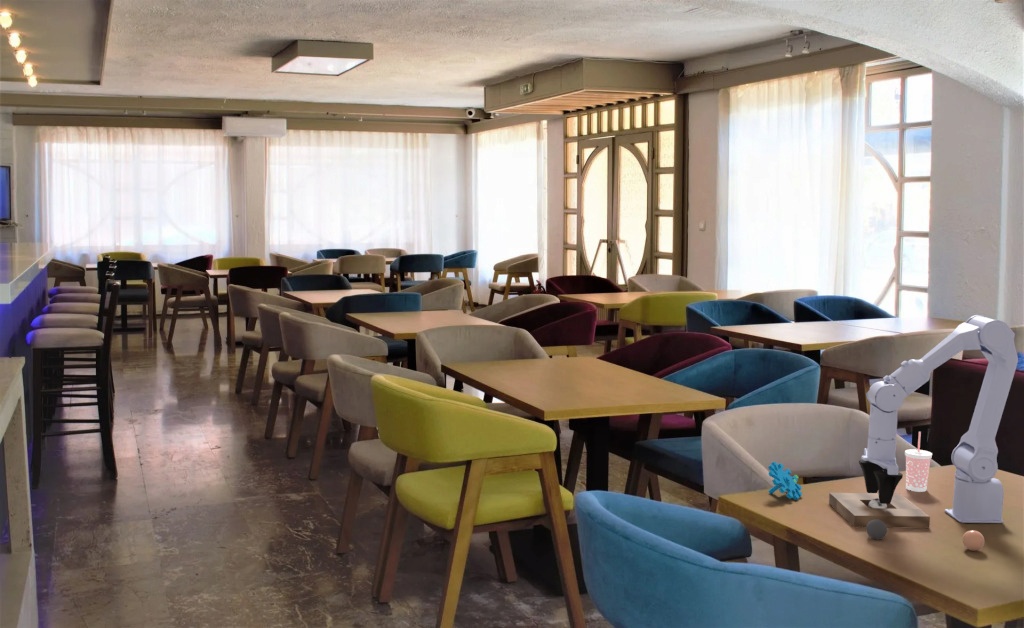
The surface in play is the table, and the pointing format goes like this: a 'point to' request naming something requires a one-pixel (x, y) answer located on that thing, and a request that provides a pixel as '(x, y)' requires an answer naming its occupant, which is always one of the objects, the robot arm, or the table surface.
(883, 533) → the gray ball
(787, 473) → the blue branched piece
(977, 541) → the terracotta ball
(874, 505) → the steel ball
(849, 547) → the table surface
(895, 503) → the wooden square frame
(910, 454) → the beverage cup
